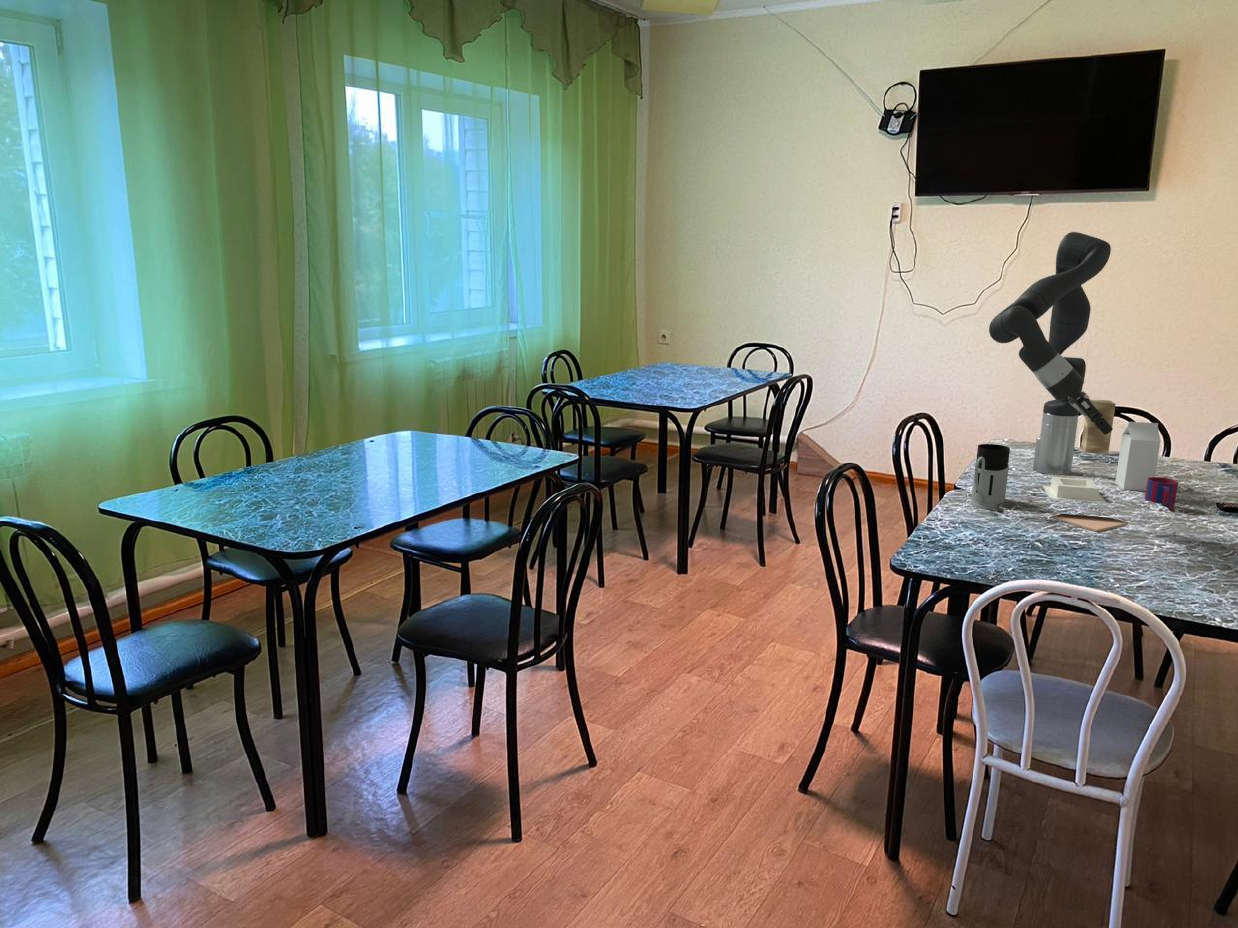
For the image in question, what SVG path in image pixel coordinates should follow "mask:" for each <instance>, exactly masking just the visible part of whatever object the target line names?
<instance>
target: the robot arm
mask: <svg viewBox="0 0 1238 928" xmlns="http://www.w3.org/2000/svg"><path fill="white" fill-rule="evenodd" d="M1111 251H1112V248H1111V244H1110V243H1109V242H1107V241H1105V240H1103V239H1101V238H1099V237H1095V236H1092V235H1089V234H1085V233H1082V232H1077V231H1071V232H1069V233H1066V234H1065V235H1064V236H1063V238H1062V240H1060V243H1059V244H1058V249H1057V252H1056V259H1055V274H1052V275H1048V276H1045V277H1043V278H1041V279H1039V280H1036V281H1035V282H1033V284H1031V285H1030V286H1029V287H1028V288H1027V289H1025V290H1024V292H1023V293H1021V295H1019V296H1018V298H1017V299H1016V300H1015V301H1014V302H1012V303H1011V304H1009V305H1008V306H1007V307H1005V309H1003V310H1001V311H1000V312H999V313H998V314H997V315H995V316H994V318H993V319H992V320H991V321H990V323H989V328H988V332H989V336H990V338H991V339H993V341H995V342H996V343H999V344H1009V343H1011V342H1013V341H1015V340H1017V339H1019V340H1020V341H1021V344H1022V347H1021V348H1020V349H1019V351H1018V357H1019V359H1020V360H1021V361H1022V362H1023V363H1024V364H1025V366H1026V367H1027V368H1028V369H1029V370H1030V371H1031V372H1032V373H1033V375H1034V376H1035V378H1036V379H1037V380H1038V382H1039V383H1040V384H1041V385H1042V386H1043V387H1044V389H1046V391H1048V393H1049V394H1050V395H1051V396H1052V397H1053V399H1052V400H1049V401H1046V402H1045V403H1044V405H1043V410H1042V417H1041V418H1042V419H1041V427H1040V428H1041V429H1040V435H1039V436H1038V437H1036V440H1035V447H1034V448H1035V449H1034V456H1033V466H1032V470H1035V471H1037V472H1038V473H1040V474H1045V475H1050V476H1069V475H1071V473H1072V468H1073V460H1074V452H1075V444H1076V437H1077V429H1078V423H1079V414H1080V415H1082V416H1083V417H1084V418H1085V417H1088V418H1089V419H1090V420H1091V422H1092V423H1094V424H1095V425H1096V426H1097V427H1098V428H1099V429H1100V430H1101V431H1102V432H1103V434H1105V435H1106V434H1108V433H1109V432H1111V431H1113V430H1114V428H1113V426H1112V427H1111V426H1110V425H1109V424H1108V423H1107V422H1106V420H1105V419H1104V418H1103V415H1102V414H1101V413H1100V412H1099V411H1098V410H1097V406H1096V405H1095V404H1094V403H1093V402H1092V401H1091V400H1090V396H1089V395H1088V394H1087V393H1086V392H1085V391H1083V387H1084V384H1085V377H1086V370H1087V363H1086V361H1085V359H1084V358H1082V357H1072V356H1071V357H1068V356H1062V354H1063V353H1064V352H1065V351H1066V350H1067V349H1068V348H1070V347H1071V346H1072V345H1073V344H1075V343H1076V342H1077V341H1079V339H1081V337H1082V336H1084V335H1085V333H1086V332H1087V329H1088V326H1089V324H1090V323H1089V322H1090V316H1091V303H1090V301H1089V298H1088V296H1087V294H1086V291H1085V290H1084V287H1082V285H1084V284H1085V283H1087V282H1088V281H1090V280H1092V279H1093V278H1095V277H1096V276H1097V275H1098V274H1099V273H1101V272H1102V270H1103V269H1104V268H1105V267H1106V265H1107V264H1108V262H1109V260H1110V259H1109V258H1110V256H1111ZM1049 310H1051V315H1050V322H1049V332H1048V333H1049V334H1048V340H1047V338H1046V336H1045V334H1044V332H1043V329H1042V328H1041V326H1040V324H1039V322H1038V319H1040V318H1041V317H1043V315H1045V314H1046V313H1047V312H1048V311H1049ZM1094 411H1095V412H1096V413H1097V414H1096V415H1095V416H1094V417H1091V416H1090V415H1091V414H1092V413H1093V412H1094ZM1111 433H1112V432H1111Z"/></svg>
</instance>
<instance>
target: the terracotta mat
mask: <svg viewBox="0 0 1238 928" xmlns="http://www.w3.org/2000/svg"><path fill="white" fill-rule="evenodd" d="M1051 518H1053V519H1052V520H1055V519H1056V520H1055V521H1058V520H1060V521H1059V522H1061V521H1063V522H1062V523H1065V522H1066V523H1065V524H1068V523H1069V524H1068V525H1071V524H1072V525H1071V526H1076V527H1078V528H1081V527H1082V528H1081V529H1085V530H1088V531H1092V532H1095V531H1099V532H1102V531H1106V530H1112V529H1115V528H1116V529H1117V528H1119V527H1123V526H1128V525H1129V522H1127V521H1124V520H1120V519H1116V518H1114V517H1109V516H1095V515H1084V514H1070V513H1060V514H1055V515H1050V519H1051Z"/></svg>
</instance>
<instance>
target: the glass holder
mask: <svg viewBox="0 0 1238 928" xmlns="http://www.w3.org/2000/svg"><path fill="white" fill-rule="evenodd" d="M976 449H977V451H976V458H975V459H976V460H975V463H974V471H973V472H974V473H973V481H972V488H971V492H972V493H971V498H970V501H969V503H968V504H969V505H970V506H971V505H972V506H971V507H973V508H976V509H977V508H978V509H981V510H988V511H989V510H991V511H999V510H1000V511H1001V510H1002V508H1001V507H1000V505H999V504H1003V503H1005V502H1006V494H1007V486H1008V485H1007V484H1008V475H1009V469H1010V467H1009V461H1010V453H1011V448H1010V447H1009V446H1006V445H1001V444H995V443H980V444H978V445H977V448H976Z"/></svg>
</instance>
